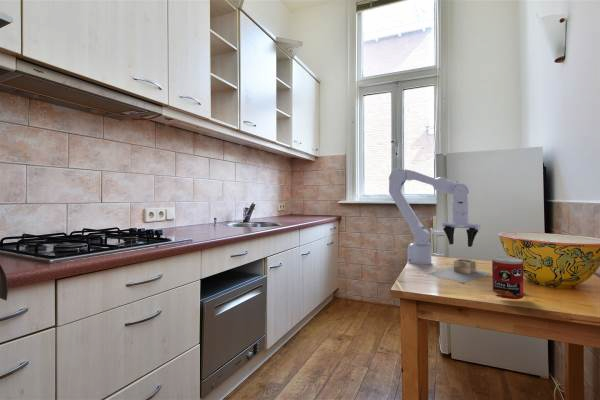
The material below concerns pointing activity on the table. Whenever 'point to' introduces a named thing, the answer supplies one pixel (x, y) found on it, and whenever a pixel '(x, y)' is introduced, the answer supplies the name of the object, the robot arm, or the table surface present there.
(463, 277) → the board
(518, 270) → the canned food
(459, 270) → the collar
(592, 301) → the table surface
